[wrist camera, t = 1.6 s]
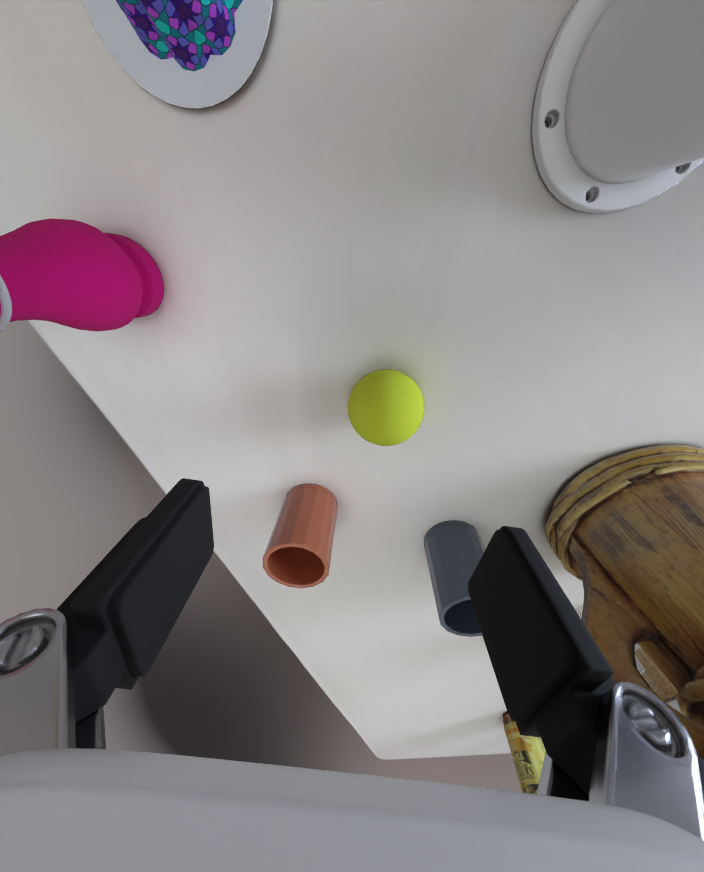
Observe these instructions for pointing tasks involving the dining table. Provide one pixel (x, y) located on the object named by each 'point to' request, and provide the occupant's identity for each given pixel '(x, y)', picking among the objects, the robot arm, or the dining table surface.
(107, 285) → the pepper mill
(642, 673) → the sprinkles bottle
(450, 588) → the grey cup
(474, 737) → the dining table surface
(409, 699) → the dining table surface
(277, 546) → the terracotta cup
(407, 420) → the ball
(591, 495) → the tankard
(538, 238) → the dining table surface
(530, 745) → the sauce bottle
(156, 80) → the pudding
